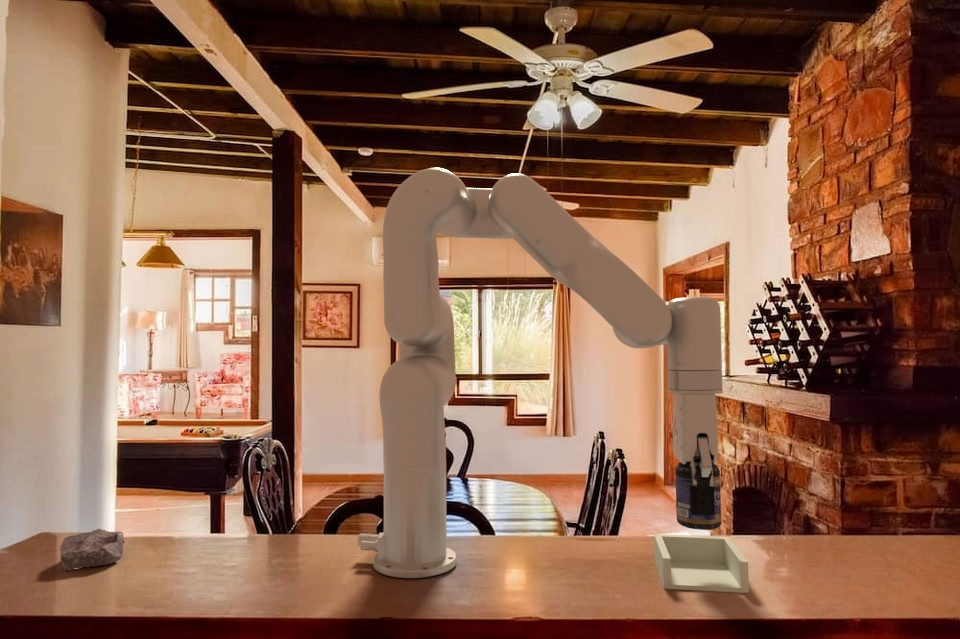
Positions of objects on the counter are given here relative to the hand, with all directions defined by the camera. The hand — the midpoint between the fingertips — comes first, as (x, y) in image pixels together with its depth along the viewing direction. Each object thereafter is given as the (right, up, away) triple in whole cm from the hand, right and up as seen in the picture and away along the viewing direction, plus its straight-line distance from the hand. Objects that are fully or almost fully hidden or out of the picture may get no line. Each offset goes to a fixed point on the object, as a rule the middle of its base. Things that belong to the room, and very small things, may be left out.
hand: (697, 506), depth 92 cm
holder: (0, -10, 0) cm, 10 cm away
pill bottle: (0, -3, 0) cm, 3 cm away
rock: (-92, -11, +8) cm, 93 cm away
